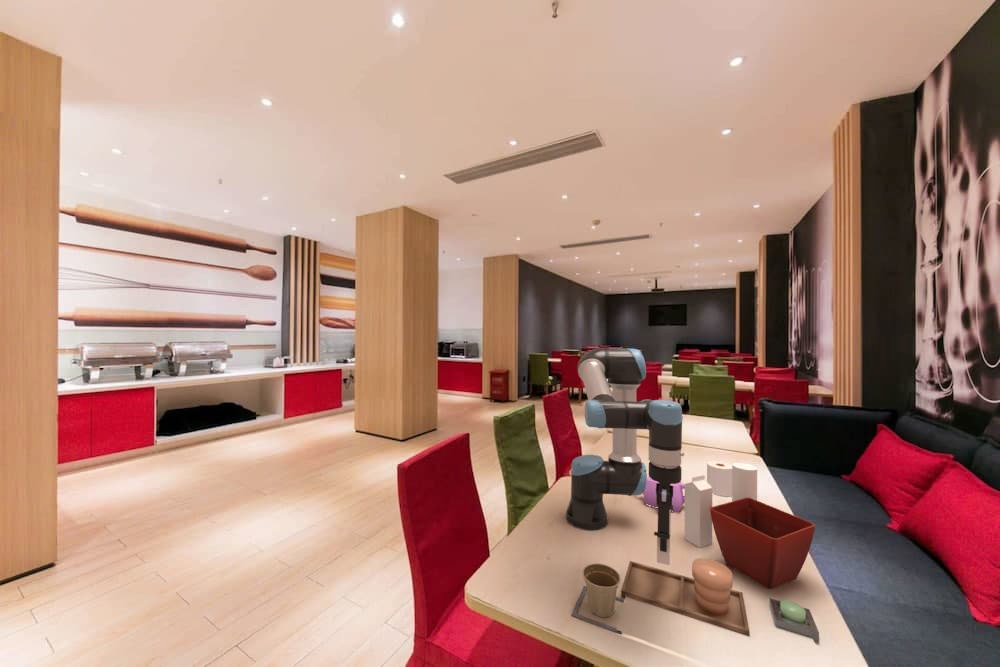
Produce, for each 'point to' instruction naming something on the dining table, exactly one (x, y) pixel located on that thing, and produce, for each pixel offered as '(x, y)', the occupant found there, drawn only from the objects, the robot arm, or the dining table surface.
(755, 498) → the cylindrical container
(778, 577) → the plant pot
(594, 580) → the flower pot
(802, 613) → the green soap bar
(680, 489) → the teakettle
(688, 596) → the brown divided tray
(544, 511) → the dining table surface
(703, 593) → the stacked pebble cairn
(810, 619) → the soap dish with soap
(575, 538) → the dining table surface
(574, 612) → the square
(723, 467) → the toilet paper
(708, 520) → the milk
